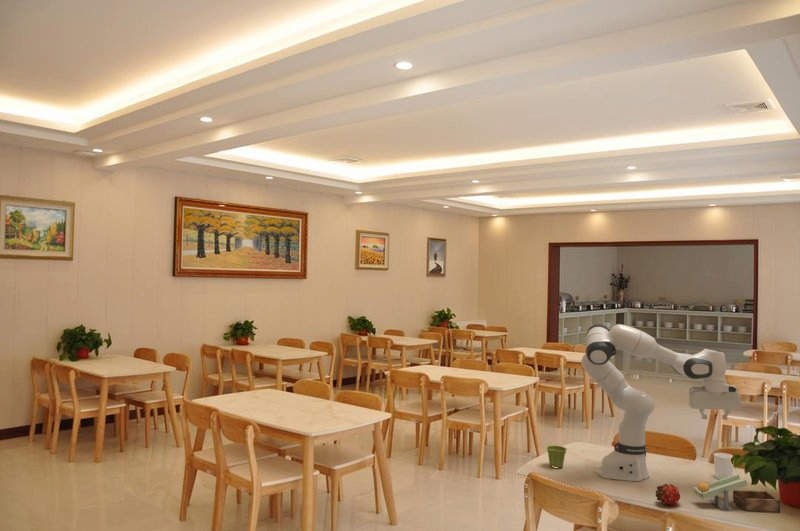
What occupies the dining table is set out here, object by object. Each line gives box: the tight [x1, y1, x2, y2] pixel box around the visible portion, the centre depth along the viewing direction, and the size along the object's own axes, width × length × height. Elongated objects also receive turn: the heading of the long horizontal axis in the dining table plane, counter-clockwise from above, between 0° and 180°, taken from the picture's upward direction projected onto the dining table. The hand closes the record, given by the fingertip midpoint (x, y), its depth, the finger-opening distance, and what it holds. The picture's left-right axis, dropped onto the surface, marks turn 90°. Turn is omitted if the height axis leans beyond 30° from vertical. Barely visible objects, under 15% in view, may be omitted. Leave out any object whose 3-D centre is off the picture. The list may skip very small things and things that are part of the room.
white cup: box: [713, 452, 734, 478], centre depth 273 cm, size 8×8×10 cm
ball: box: [697, 482, 709, 493], centre depth 240 cm, size 4×4×4 cm
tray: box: [732, 489, 781, 513], centre depth 238 cm, size 13×10×4 cm
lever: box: [693, 474, 749, 501], centre depth 243 cm, size 18×13×3 cm
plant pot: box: [546, 445, 568, 467], centre depth 288 cm, size 9×9×9 cm
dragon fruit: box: [655, 483, 681, 506], centre depth 241 cm, size 8×8×12 cm
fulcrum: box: [709, 490, 734, 512], centre depth 240 cm, size 4×10×7 cm, turn 175°
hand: (714, 419), depth 260 cm, fingers open, 7 cm apart
